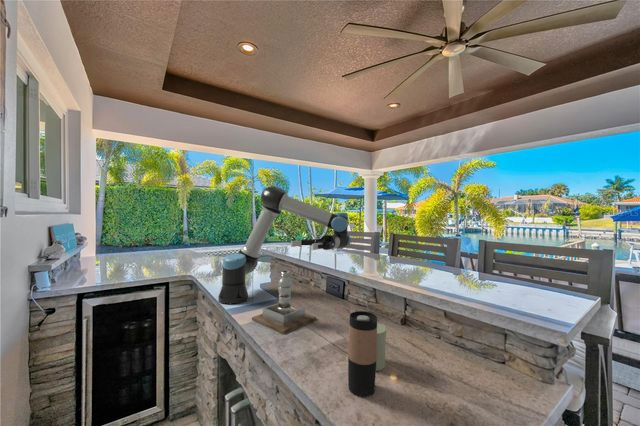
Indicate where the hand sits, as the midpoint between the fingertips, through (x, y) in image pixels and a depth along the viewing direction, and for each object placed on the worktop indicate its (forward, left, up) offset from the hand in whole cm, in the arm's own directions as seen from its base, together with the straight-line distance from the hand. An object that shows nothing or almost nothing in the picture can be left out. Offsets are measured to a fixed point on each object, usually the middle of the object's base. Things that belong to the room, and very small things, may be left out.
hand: (301, 245), depth 129 cm
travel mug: (+53, +21, -32) cm, 66 cm away
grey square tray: (+8, -7, -31) cm, 32 cm away
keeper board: (+7, -6, -32) cm, 33 cm away
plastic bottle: (+7, -6, -31) cm, 32 cm away
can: (+40, +26, -32) cm, 58 cm away
